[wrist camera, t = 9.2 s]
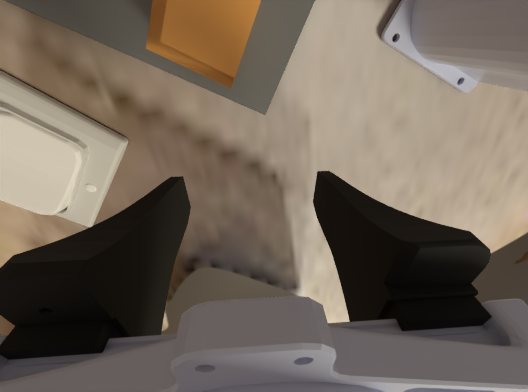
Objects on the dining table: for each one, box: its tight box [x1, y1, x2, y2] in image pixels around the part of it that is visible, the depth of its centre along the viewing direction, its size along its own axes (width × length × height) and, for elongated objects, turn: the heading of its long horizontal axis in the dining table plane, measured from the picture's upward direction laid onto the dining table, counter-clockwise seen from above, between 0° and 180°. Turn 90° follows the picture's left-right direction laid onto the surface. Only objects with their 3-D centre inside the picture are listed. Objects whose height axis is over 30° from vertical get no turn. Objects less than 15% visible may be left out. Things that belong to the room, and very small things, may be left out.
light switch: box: [0, 70, 128, 227], centre depth 20 cm, size 11×4×13 cm
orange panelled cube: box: [146, 0, 261, 88], centre depth 13 cm, size 5×5×4 cm
